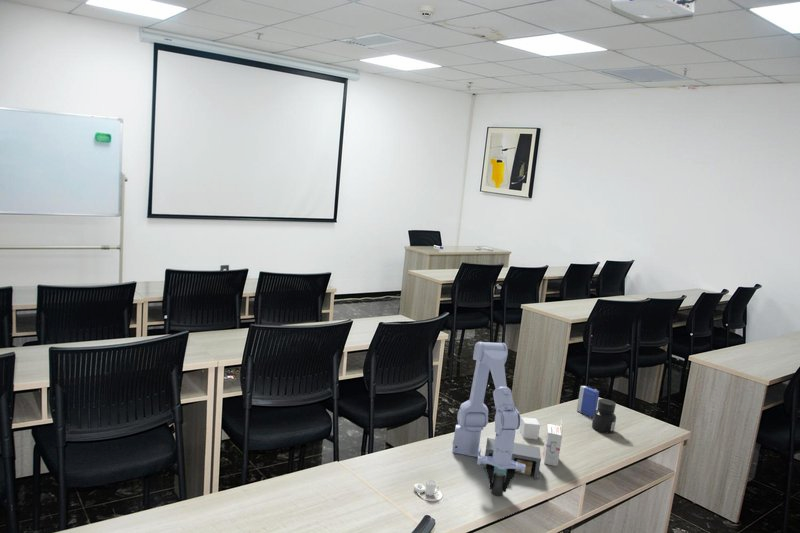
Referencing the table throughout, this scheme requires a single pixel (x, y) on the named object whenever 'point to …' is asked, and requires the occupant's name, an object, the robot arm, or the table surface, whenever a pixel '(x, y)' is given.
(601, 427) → the ink bottle
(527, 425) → the white cube
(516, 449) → the cubby shelf
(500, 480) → the block
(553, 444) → the ink cartridge box
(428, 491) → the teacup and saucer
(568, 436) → the table surface
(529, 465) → the ochre block
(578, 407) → the walkman
